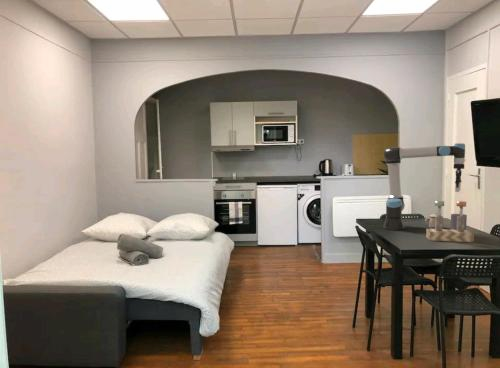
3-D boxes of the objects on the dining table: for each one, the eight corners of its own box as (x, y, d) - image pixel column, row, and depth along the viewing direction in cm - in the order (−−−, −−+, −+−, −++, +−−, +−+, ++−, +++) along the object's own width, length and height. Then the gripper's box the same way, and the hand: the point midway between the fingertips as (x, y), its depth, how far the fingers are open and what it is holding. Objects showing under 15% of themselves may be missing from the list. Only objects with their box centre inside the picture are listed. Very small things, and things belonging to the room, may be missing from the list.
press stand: (429, 240, 297) (430, 217, 295) (426, 237, 308) (426, 214, 307) (473, 242, 291) (474, 218, 290) (468, 238, 302) (469, 215, 301)
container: (467, 236, 308) (468, 216, 307) (451, 236, 312) (452, 215, 310) (464, 234, 318) (465, 214, 317) (449, 233, 321) (450, 213, 320)
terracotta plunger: (457, 222, 295) (457, 202, 294) (454, 221, 301) (455, 201, 300) (466, 223, 294) (467, 202, 292) (464, 221, 299) (465, 201, 298)
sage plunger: (435, 222, 298) (435, 201, 297) (433, 220, 304) (434, 200, 303) (444, 222, 296) (445, 201, 295) (442, 221, 302) (443, 200, 301)
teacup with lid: (439, 226, 352) (440, 212, 351) (442, 228, 343) (443, 213, 342) (424, 225, 354) (424, 211, 353) (426, 227, 345) (427, 213, 344)
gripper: (463, 164, 318) (462, 192, 320) (465, 163, 340) (464, 190, 342) (452, 163, 322) (451, 192, 323) (454, 163, 343) (453, 189, 345)
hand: (457, 191), depth 332 cm, fingers open, 13 cm apart
